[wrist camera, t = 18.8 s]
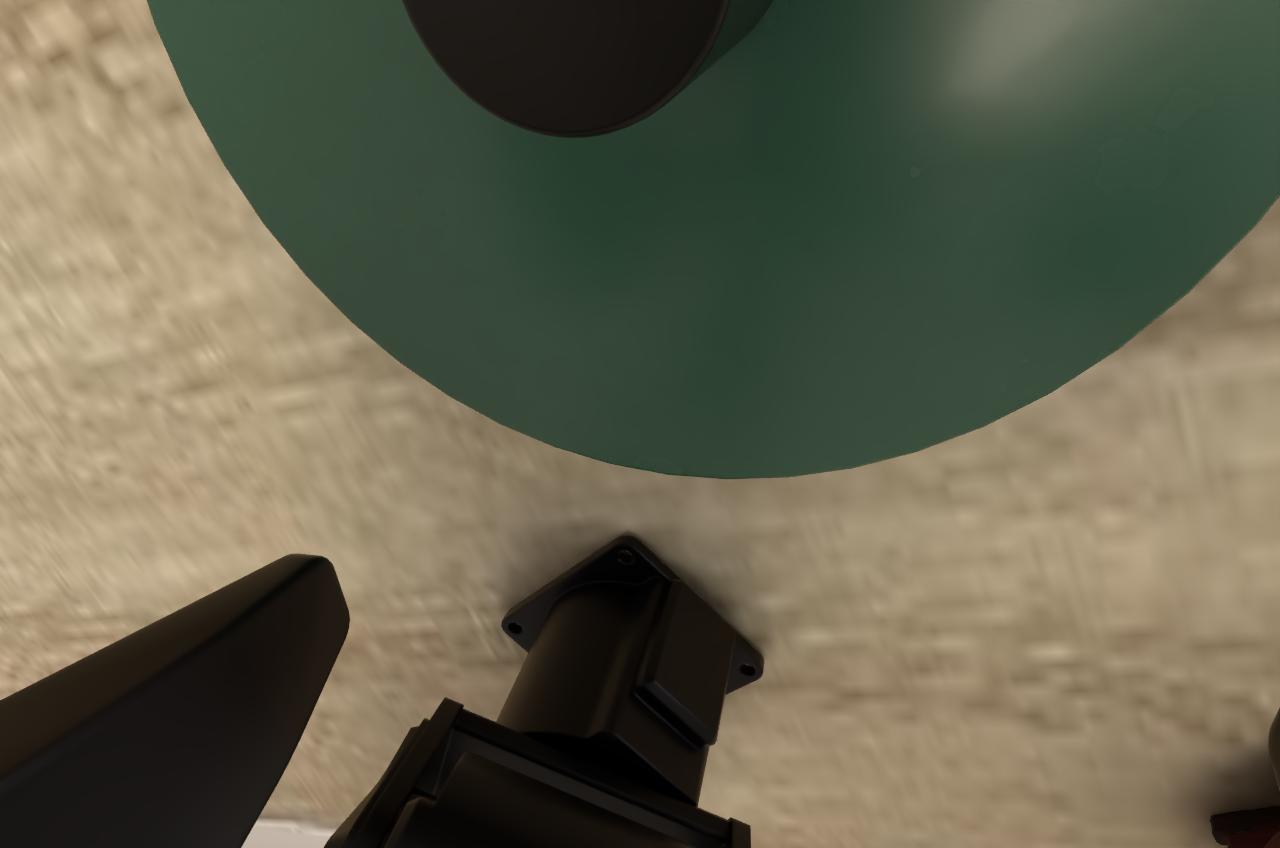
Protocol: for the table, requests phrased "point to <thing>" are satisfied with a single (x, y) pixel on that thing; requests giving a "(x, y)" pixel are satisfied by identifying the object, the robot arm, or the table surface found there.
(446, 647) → the table surface
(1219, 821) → the mate gourd
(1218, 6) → the lid
